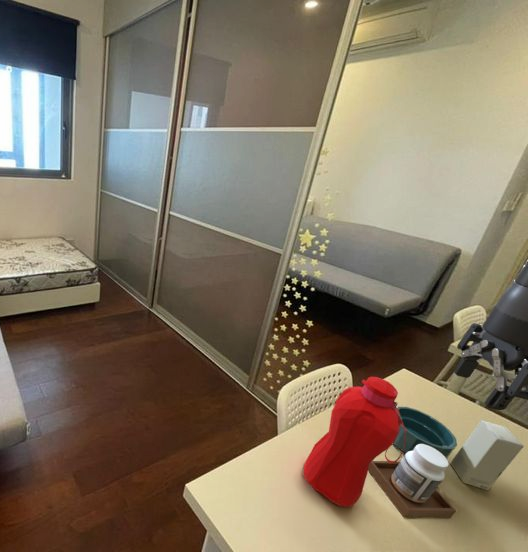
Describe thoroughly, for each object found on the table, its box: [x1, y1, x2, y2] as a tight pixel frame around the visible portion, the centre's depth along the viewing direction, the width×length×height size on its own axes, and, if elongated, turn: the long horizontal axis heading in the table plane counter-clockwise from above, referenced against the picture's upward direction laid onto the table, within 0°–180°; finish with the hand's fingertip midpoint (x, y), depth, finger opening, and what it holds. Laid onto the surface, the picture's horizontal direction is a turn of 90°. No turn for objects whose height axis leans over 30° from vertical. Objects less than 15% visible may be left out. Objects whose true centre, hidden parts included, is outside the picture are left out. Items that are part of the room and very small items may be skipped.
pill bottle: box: [391, 444, 450, 503], centre depth 60 cm, size 6×6×10 cm
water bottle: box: [303, 376, 406, 508], centre depth 57 cm, size 9×11×25 cm
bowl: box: [393, 406, 458, 460], centre depth 73 cm, size 11×11×6 cm
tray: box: [368, 460, 457, 519], centre depth 62 cm, size 10×10×2 cm
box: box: [450, 419, 525, 491], centre depth 65 cm, size 5×4×13 cm
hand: (475, 390), depth 58 cm, fingers open, 8 cm apart
